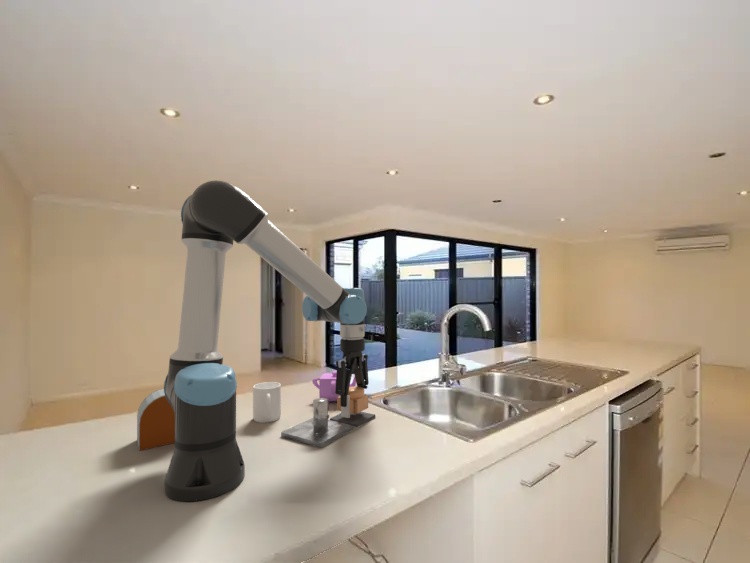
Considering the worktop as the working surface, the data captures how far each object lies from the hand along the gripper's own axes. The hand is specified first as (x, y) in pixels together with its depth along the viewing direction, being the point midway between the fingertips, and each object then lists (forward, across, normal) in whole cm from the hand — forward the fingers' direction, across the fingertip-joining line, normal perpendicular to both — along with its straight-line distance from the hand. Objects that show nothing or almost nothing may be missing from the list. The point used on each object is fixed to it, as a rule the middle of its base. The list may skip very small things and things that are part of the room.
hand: (352, 413), depth 114 cm
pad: (+2, 0, 0) cm, 2 cm away
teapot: (+2, +13, +16) cm, 21 cm away
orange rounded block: (+2, -37, +34) cm, 50 cm away
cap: (-1, 0, 0) cm, 1 cm away
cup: (+2, -14, +22) cm, 26 cm away
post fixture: (+2, -14, +1) cm, 14 cm away
